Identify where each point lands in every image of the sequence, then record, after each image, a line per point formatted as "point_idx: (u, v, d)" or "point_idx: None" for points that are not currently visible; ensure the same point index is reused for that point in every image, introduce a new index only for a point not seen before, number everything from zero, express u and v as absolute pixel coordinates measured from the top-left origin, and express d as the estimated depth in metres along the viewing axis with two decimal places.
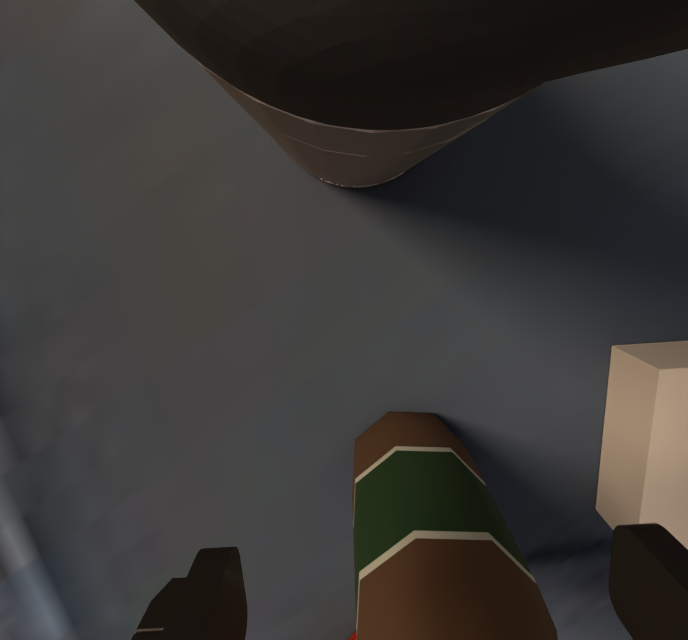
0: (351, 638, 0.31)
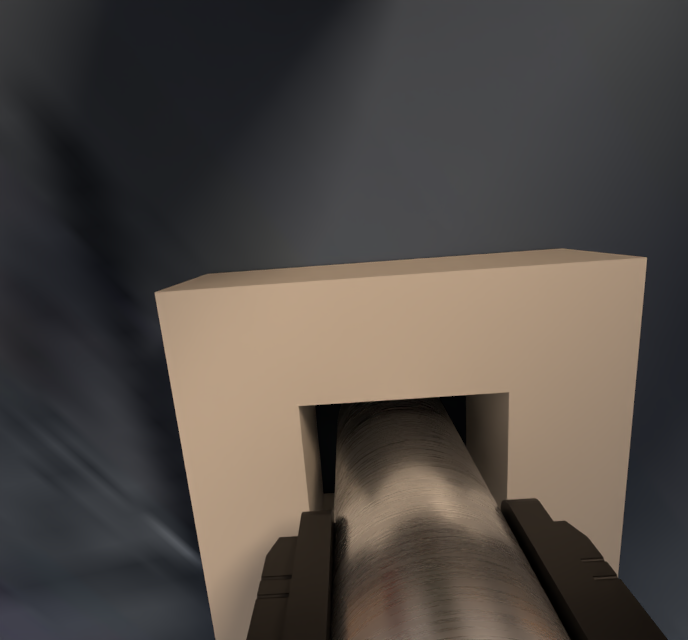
0: None
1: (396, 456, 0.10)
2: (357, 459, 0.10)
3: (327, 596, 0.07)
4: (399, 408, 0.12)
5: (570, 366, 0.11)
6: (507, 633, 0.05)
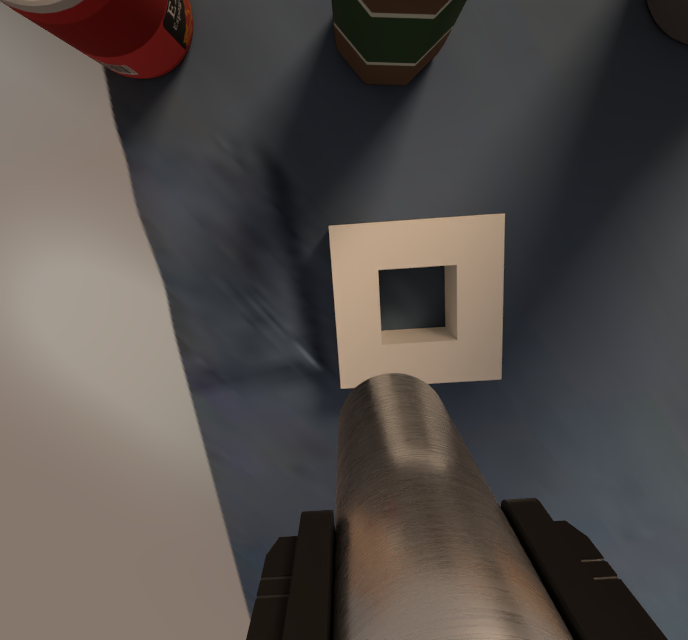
0: None
1: (397, 456, 0.10)
2: (358, 458, 0.10)
3: (327, 596, 0.07)
4: (400, 408, 0.12)
5: (479, 254, 0.29)
6: (509, 630, 0.05)
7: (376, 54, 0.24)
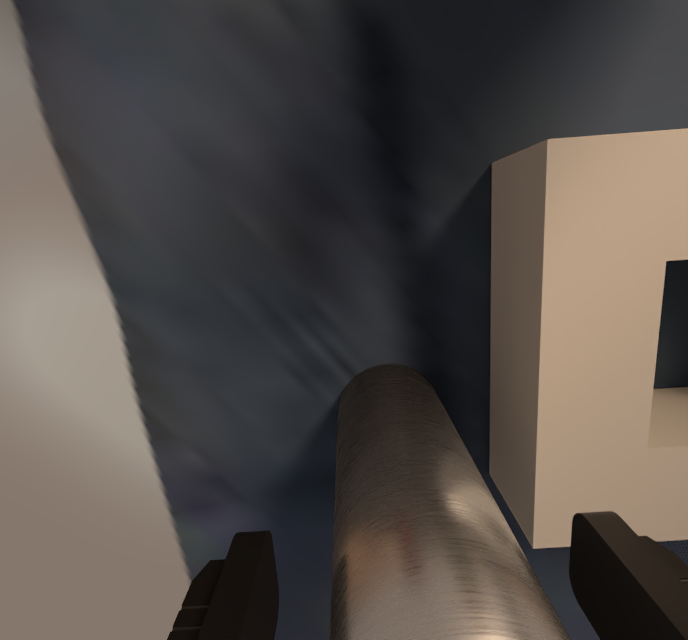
0: None
1: (391, 436, 0.11)
2: (356, 440, 0.11)
3: (241, 631, 0.07)
4: (395, 395, 0.13)
5: None
6: (483, 572, 0.06)
7: None
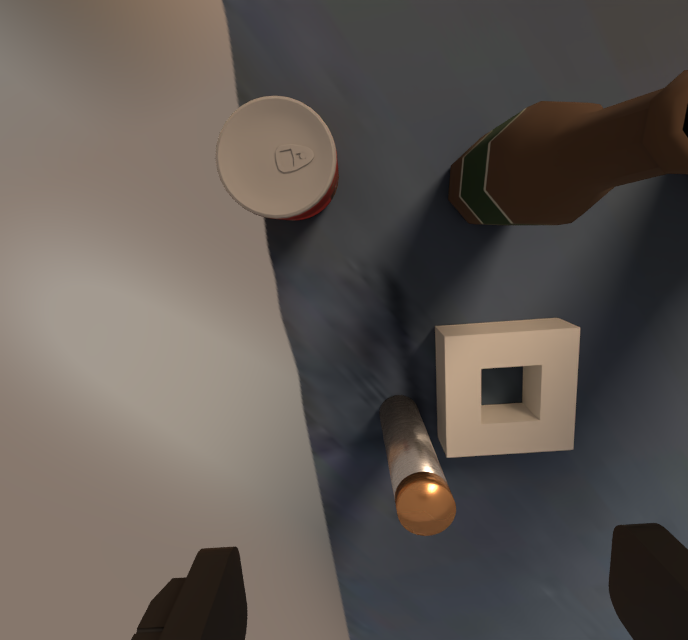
0: None
1: (401, 420, 0.37)
2: (390, 421, 0.38)
3: None
4: (401, 407, 0.39)
5: (559, 357, 0.37)
6: (420, 444, 0.33)
7: None
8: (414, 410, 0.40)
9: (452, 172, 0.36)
